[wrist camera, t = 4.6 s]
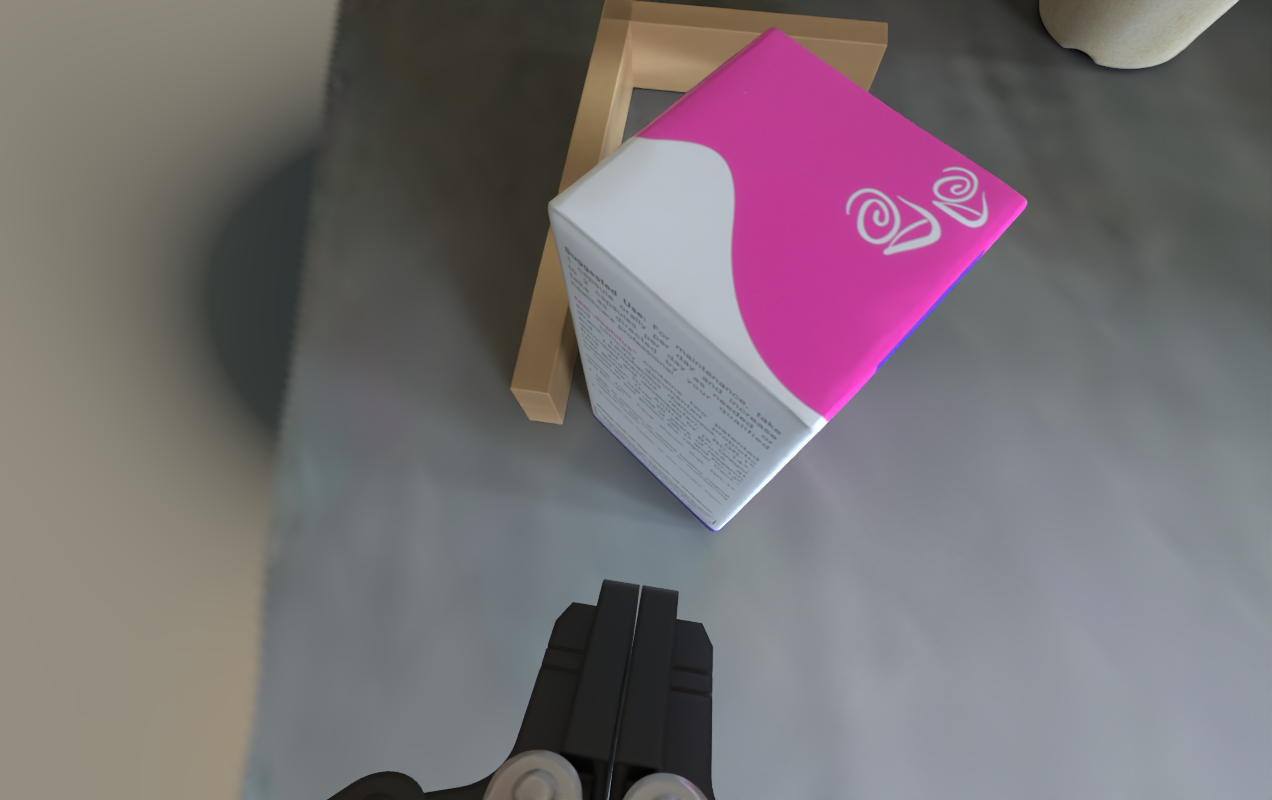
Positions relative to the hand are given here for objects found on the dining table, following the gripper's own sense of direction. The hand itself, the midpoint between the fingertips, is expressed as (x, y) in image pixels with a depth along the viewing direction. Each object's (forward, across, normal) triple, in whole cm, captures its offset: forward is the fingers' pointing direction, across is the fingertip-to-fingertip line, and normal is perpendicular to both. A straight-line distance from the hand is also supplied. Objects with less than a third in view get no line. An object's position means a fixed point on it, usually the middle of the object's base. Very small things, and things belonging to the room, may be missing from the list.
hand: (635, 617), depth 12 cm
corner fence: (+15, -1, -5) cm, 15 cm away
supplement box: (+10, -1, 0) cm, 10 cm away
